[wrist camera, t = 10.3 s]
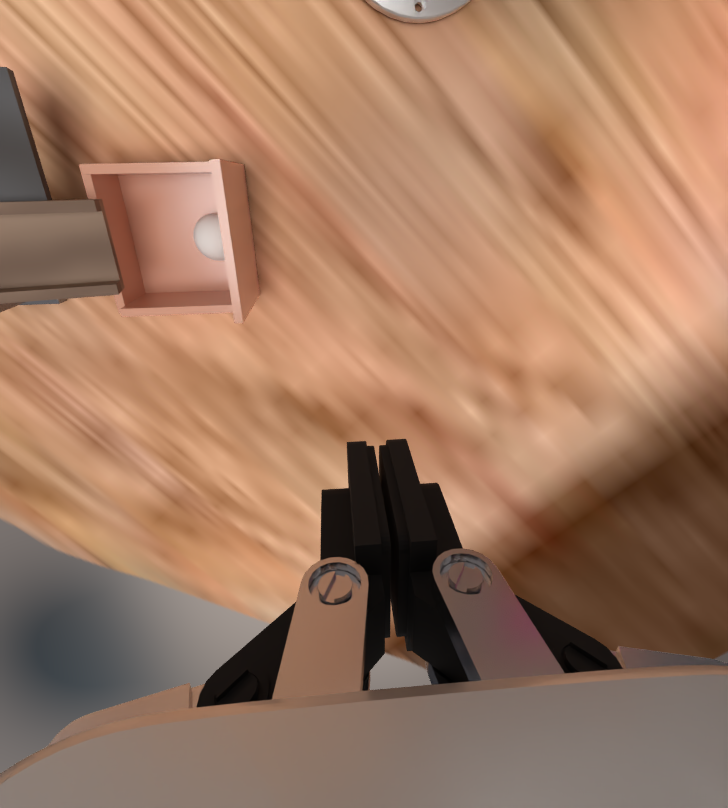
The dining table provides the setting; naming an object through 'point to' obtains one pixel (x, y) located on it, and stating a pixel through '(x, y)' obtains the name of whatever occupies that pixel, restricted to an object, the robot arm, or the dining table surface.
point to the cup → (177, 236)
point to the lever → (46, 223)
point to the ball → (209, 237)
